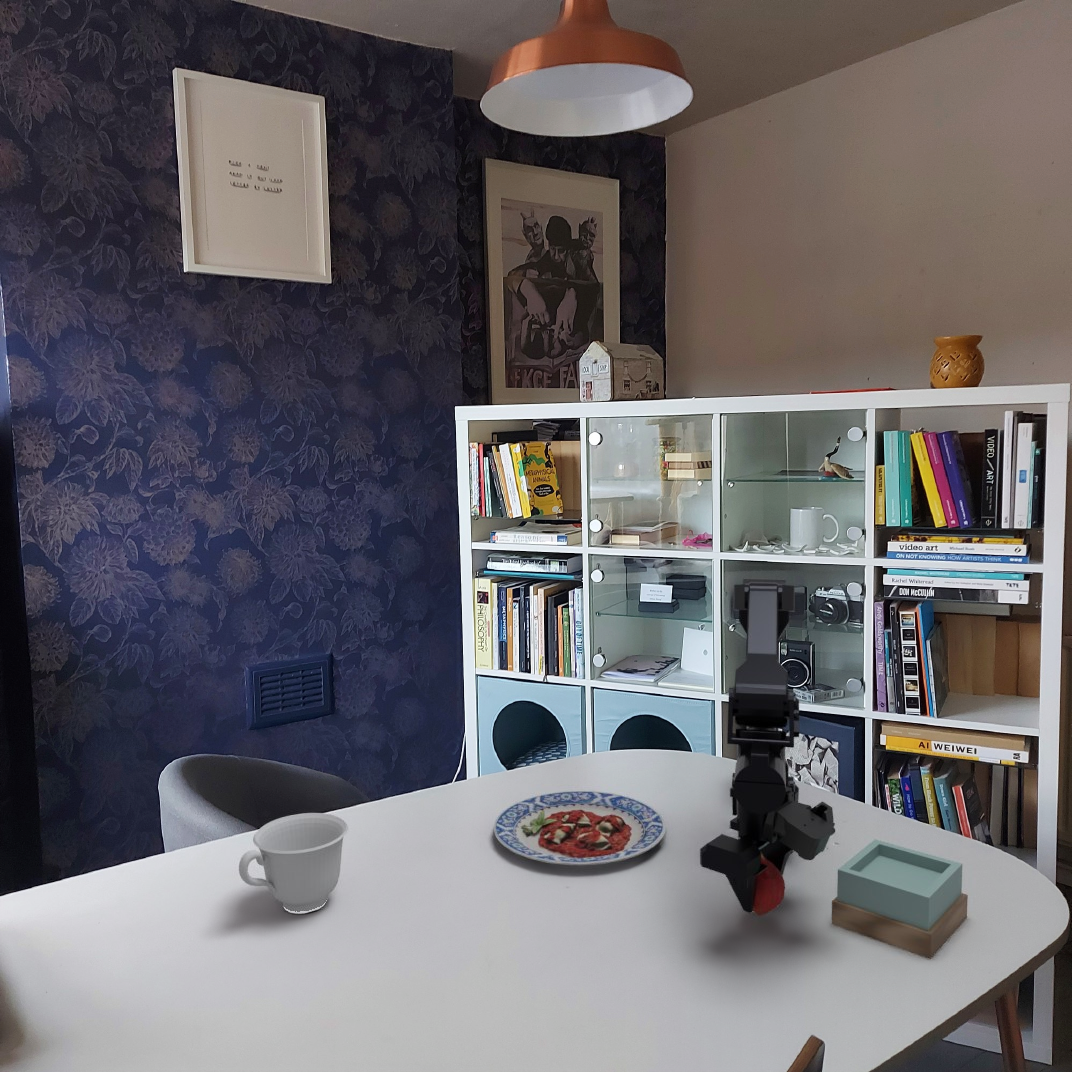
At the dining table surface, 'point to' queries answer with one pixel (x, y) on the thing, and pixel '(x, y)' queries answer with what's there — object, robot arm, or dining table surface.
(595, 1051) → the dining table surface
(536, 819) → the ceramic plate
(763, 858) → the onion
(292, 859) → the teacup
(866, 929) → the bottom block
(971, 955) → the dining table surface
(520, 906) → the dining table surface
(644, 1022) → the dining table surface
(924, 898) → the top block
